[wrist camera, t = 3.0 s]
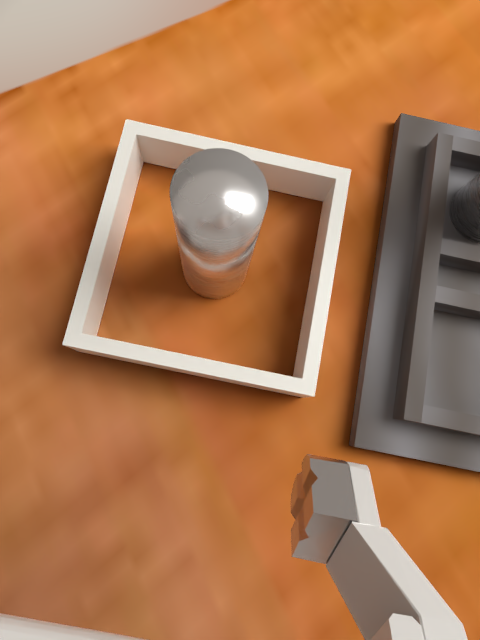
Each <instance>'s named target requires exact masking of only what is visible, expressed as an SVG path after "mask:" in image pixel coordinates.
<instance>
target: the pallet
mask: <svg viewBox="0 0 480 640" xmlns="http://www.w3.org/2000/svg"><path fill="white" fill-rule="evenodd" d="M479 173H480V131H477V130H472V129H468V128H464V127H459V126H455V125H451V124H446V123H442V122H438V121H433V120H429V119H425V118H420V117H416V116H411V115H407V114H403V113H401V114H400V116H399V117H398V119H397V120H396V122H395V126H394V133H393V140H392V147H391V154H390V161H389V168H388V175H387V182H386V189H385V196H384V203H383V210H382V217H381V224H380V231H379V238H378V245H377V252H376V259H375V266H374V273H373V280H372V287H371V294H370V301H369V308H368V315H367V322H366V329H365V336H364V343H363V350H362V357H361V364H360V371H359V378H358V385H357V392H356V399H355V406H354V413H353V420H352V427H351V434H350V441H349V445H350V446H354V447H358V448H363V449H368V450H373V451H378V452H383V453H388V454H393V455H398V456H403V457H408V458H413V459H418V460H423V461H428V462H433V463H438V464H443V465H448V466H453V467H457V468H462V469H467V470H472V471H477V472H480V243H478V242H474V241H471V240H469V239H467V238H465V237H464V236H462V235H461V234H460V233H459V232H458V231H457V230H456V228H455V227H454V225H453V223H452V221H451V218H450V211H449V210H450V203H451V200H452V198H453V196H454V195H455V194H456V193H457V192H458V191H459V190H460V189H461V188H462V187H464V186H465V185H466V184H467V183H468V182H469V181H471V180H472V179H473V178H474V177H475V176H476V175H478V174H479Z"/></svg>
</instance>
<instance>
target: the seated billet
mask: <svg viewBox="0 0 480 640" xmlns="http://www.w3.org/2000/svg"><path fill="white" fill-rule="evenodd" d="M449 211H450V218H451V221H452V223H453V225H454V227H455V228H456V230H457V231H458V232H459V233H460V234H461V235H462V236H464V237H465V238H467V239H469V240H471V241H474V242H478V243H480V173H479V174H478V175H476V176H475V177H474V178H473V179H472V180H471V181H469V182H468V183H467V184H466V185H465V186H464V187H462V188H461V189H460V190H459V191H458V192H457V193H456V194H455V195H454V196H453V198H452V200H451V203H450V210H449Z"/></svg>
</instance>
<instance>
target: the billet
mask: <svg viewBox="0 0 480 640" xmlns="http://www.w3.org/2000/svg"><path fill="white" fill-rule="evenodd" d="M170 201H171V206H172V212H173V217H174V223H175V229H176V234H177V240H178V246H179V251H180V257H181V263H182V268H183V274H184V277H185V280H186V282H187V284H188V285H189V287H190V288H191V289H192V290H193V291H194V292H196V293H197V294H199V295H200V296H203V297H206V298H210V299H221V298H225V297H228V296H230V295H232V294H233V293H235V292H236V291H237V290H238V289H239V288H240V287H241V286H242V284H243V282H244V280H245V277H246V274H247V271H248V267H249V264H250V261H251V257H252V254H253V251H254V248H255V244H256V241H257V238H258V234H259V231H260V228H261V224H262V221H263V218H264V214H265V211H266V208H267V204H268V186H267V182H266V179H265V177H264V175H263V173H262V172H261V170H260V169H259V167H258V166H257V165H256V164H255V163H254V162H253V161H252V160H251V159H249V158H248V157H247V156H245V155H243V154H241V153H239V152H237V151H234V150H230V149H225V148H210V149H205V150H202V151H199V152H197V153H195V154H193V155H191V156H189V157H188V158H187V159H186V160H184V161H183V162H182V163H181V164H180V166H179V167H178V168H177V170H176V171H175V173H174V175H173V178H172V181H171V185H170Z"/></svg>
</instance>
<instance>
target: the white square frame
mask: <svg viewBox="0 0 480 640" xmlns="http://www.w3.org/2000/svg"><path fill="white" fill-rule="evenodd" d="M210 148H225V149H230V150H234V151H237V152H239V153H241V154H243V155H245V156H247V157H248V158H249V159H251V160H252V161H253V162H254V163H255V164H256V165H257V166H258V167H259V169H260V170H261V172H262V173H263V175H264V177H265V179H266V182H267V186H268V190H273V191H277V192H282V193H286V194H291V195H295V196H300V197H304V198H309V199H313V200H318V201H323V205H322V211H321V217H320V222H319V228H318V234H317V240H316V245H315V251H314V257H313V263H312V268H311V274H310V280H309V286H308V292H307V297H306V303H305V309H304V315H303V320H302V326H301V332H300V338H299V343H298V349H297V355H296V361H295V367H294V372H293V377H291V376H287V375H282V374H277V373H272V372H267V371H262V370H258V369H253V368H248V367H243V366H238V365H233V364H228V363H224V362H219V361H214V360H209V359H204V358H199V357H195V356H190V355H185V354H180V353H175V352H170V351H166V350H161V349H156V348H151V347H146V346H141V345H136V344H132V343H127V342H122V341H117V340H112V339H107V338H103V337H98V336H97V333H98V330H99V326H100V322H101V318H102V315H103V311H104V307H105V304H106V300H107V296H108V292H109V289H110V285H111V281H112V277H113V274H114V270H115V266H116V263H117V259H118V255H119V251H120V248H121V244H122V240H123V236H124V233H125V229H126V225H127V222H128V218H129V214H130V210H131V207H132V203H133V199H134V195H135V192H136V188H137V184H138V181H139V177H140V173H141V169H142V166H143V162H146V163H151V164H155V165H160V166H164V167H169V168H173V169H177V168H178V167H179V166H180V164H181V163H182V162H183V161H184V160H186V159H187V158H188V157H189V156H191V155H193V154H195V153H197V152H199V151H202V150H205V149H210ZM350 174H351V169H346V168H342V167H337V166H333V165H328V164H324V163H319V162H315V161H311V160H306V159H302V158H297V157H293V156H288V155H284V154H279V153H275V152H270V151H266V150H261V149H257V148H253V147H248V146H244V145H239V144H235V143H230V142H226V141H221V140H217V139H212V138H208V137H203V136H199V135H194V134H190V133H186V132H181V131H177V130H172V129H168V128H163V127H159V126H154V125H150V124H145V123H141V122H136V121H132V120H128V119H126V121H125V125H124V128H123V132H122V136H121V139H120V143H119V146H118V150H117V153H116V157H115V160H114V164H113V167H112V171H111V174H110V178H109V181H108V185H107V188H106V192H105V196H104V199H103V203H102V206H101V210H100V213H99V217H98V220H97V224H96V227H95V231H94V234H93V238H92V241H91V245H90V248H89V252H88V255H87V259H86V263H85V266H84V270H83V273H82V277H81V280H80V284H79V287H78V291H77V294H76V298H75V301H74V305H73V308H72V312H71V315H70V319H69V323H68V326H67V330H66V333H65V337H64V340H63V344H62V345H64V346H66V347H69V348H71V349H74V350H76V351H78V352H83V353H88V354H93V355H98V356H103V357H107V358H112V359H117V360H122V361H127V362H132V363H137V364H142V365H146V366H151V367H156V368H161V369H166V370H171V371H176V372H181V373H185V374H190V375H195V376H200V377H205V378H210V379H215V380H220V381H225V382H229V383H234V384H239V385H244V386H249V387H254V388H259V389H264V390H268V391H273V392H278V393H283V394H288V395H293V396H298V397H315V390H316V384H317V378H318V372H319V366H320V359H321V353H322V347H323V341H324V335H325V329H326V322H327V316H328V310H329V304H330V298H331V292H332V285H333V279H334V273H335V267H336V261H337V254H338V248H339V242H340V236H341V230H342V224H343V217H344V211H345V205H346V199H347V193H348V186H349V180H350Z"/></svg>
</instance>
